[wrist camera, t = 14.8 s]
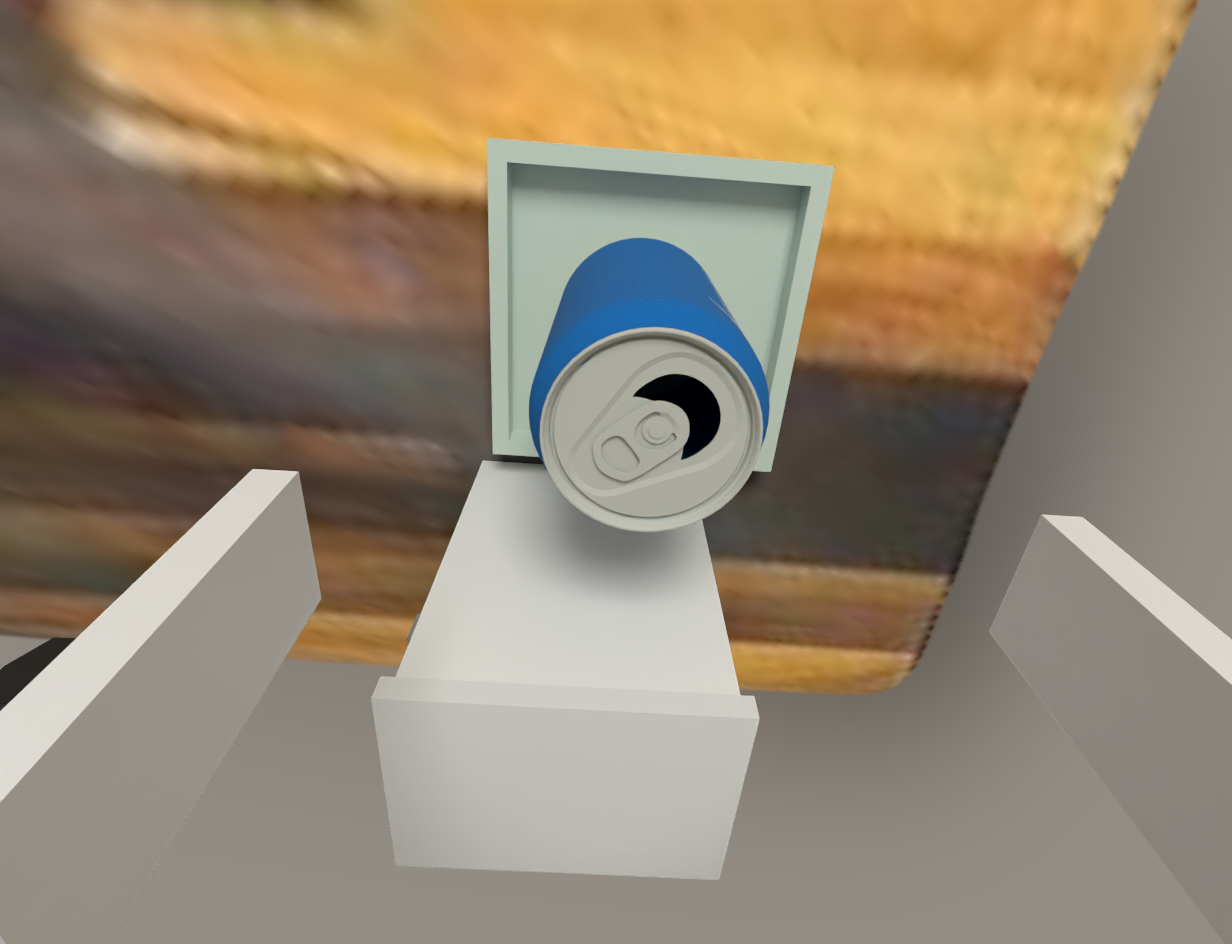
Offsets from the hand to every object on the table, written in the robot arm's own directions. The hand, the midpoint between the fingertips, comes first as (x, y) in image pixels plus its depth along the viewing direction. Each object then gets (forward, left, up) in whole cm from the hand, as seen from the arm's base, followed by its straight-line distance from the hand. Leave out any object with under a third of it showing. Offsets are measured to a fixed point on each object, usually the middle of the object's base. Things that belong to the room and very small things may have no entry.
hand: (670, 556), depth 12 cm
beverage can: (0, 0, -17) cm, 17 cm away
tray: (0, 0, -18) cm, 18 cm away
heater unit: (-2, -11, -18) cm, 21 cm away
